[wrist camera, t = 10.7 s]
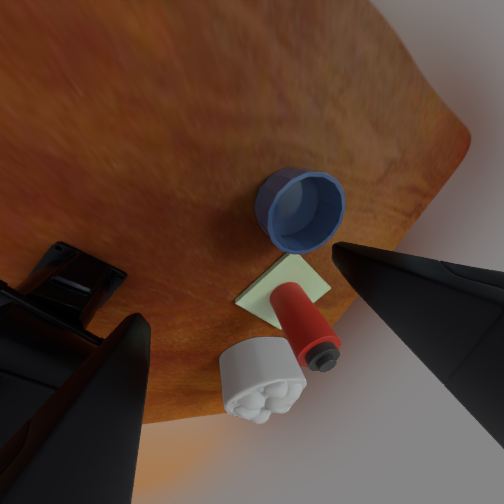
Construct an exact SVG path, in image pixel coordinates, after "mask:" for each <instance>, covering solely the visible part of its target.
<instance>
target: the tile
mask: <svg viewBox="0 0 504 504" xmlns="http://www.w3.org/2000/svg"><path fill="white" fill-rule="evenodd" d="M286 282H295V283H298V284H299V285H300V286H301V287H302V289H303V290H304V291H305V293H306V294H307V295H308V297H309V298H310V299H311V301H312V302H313V303H314V302H315V301H316V300H318V299H319V298H320V297H321V296H322V295H324V294H325V293H326V292H327V291H329V290H330V289H331V287H330V286H329V285H328V284H327V283H326V282H325V281H324V280H323V279H322V278H321V277H320V276H319V275H318V274H317V273H316V272H315V271H314V270H313V269H312V268H311V267H310V266H309V264H308V263H307V262H306V261H305V260H304V259H303V258H302V257H301V256H300V255H299V254H296V255H293V254H290V253H285V254H284V255H283V256H282V257H281V258H280V259H279V260H278V261H276V262H275V263H274V264H273V265H272V266H271V267H270V268H269V269H268V270H267V271H266V272H264V273H263V274H262V275H261V276H260V277H259V278H258V279H257V280H256V281H255V282H253V283H252V284H251V285H250V286H249V287H248V288H247V289H246V290H245V291H244V292H242V293H241V294H240V295H239V296H238V297H237V298H236V299H235V304H237V305H239V306H240V307H242V308H244V309H246V310H247V311H249V312H251V313H253V314H254V315H256V316H258V317H260V318H261V319H263V320H265V321H266V322H268V323H270V324H272V325H273V326H275V327H277V328H279V329H280V330H281V329H282V327H281V325H280V323H279V321H278V319H277V316H276V314H275V312H274V310H273V308H272V306H271V304H270V295H271V293H272V292H273V290H274V289H275V288H276V287H278V286H279V285H281V284H283V283H286Z"/></svg>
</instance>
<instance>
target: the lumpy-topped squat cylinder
mask: <svg viewBox="0 0 504 504" xmlns="http://www.w3.org/2000/svg"><path fill="white" fill-rule="evenodd" d="M219 364H220V373H221V383H222V393H223V402H224V408H225V410H226V412H228V413H229V414H231V415H233V416H238V417H241V418H242V419H245V420H251V421H252V422H254V423H256V424H262V423H264V422H266V421H267V420H268V418H269V416H270V413H273V412H275V413H285V412H287V411H288V410H289V409H290V408H291V406H292V404H293V403H294V402H295V401H296V400H297V399H298V398H299V396H300V394H301V391H302V390H303V389H304V388H305V386H306V384H307V382H306V379H305V377H304V375H303V373H302V371H301V368H300V366H299V364H298V362H297V360H296V357H295V355H294V353H293V351H292V349H291V347H290V345H289V342H288V341H287V340H286V339H285V338H280V337H256V338H251V339H247V340H245V341H242V342H239V343H237V344H235V345H233V346H231V347H230V348H228V349H227V350H225V351H224V352H223V353H222V354H221V356H220V358H219Z"/></svg>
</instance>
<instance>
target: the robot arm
mask: <svg viewBox="0 0 504 504" xmlns="http://www.w3.org/2000/svg"><path fill="white" fill-rule="evenodd" d="M58 246H60V247H62V248H63V249H61V248H59V247H58ZM332 261H333V263H334V264H335V266H336V267H337V268H338V270H339V271H340V272H341V273H342V275H343V276H344V277H345V279H346V280H347V281H348V283H349V284H350V285H351V286H352V288H353V289H354V290H355V291H356V292H357V293H358V294H359V295H360V296H361V297H362V298H363V300H364V301H366V303H367V304H368V305H369V306H370V307H371V308H372V309H373V310H374V311H375V312H376V313H377V314H378V315H379V317H380V318H381V319H382V320H384V322H385V323H386V324H387V325H388V326H389V327H390V328H391V329H392V330H393V331H394V332H395V334H397V336H398V337H399V338H400V339H401V340H402V341H403V342H404V343H405V344H406V345H407V346H408V347H409V348H410V349H411V350H412V352H413V353H414V354H415V355H416V356H417V357H418V358H419V359H420V360H421V361H422V362H423V363H424V364H425V365H426V367H428V369H429V370H430V371H431V372H432V373H433V374H434V375H435V376H436V377H437V378H438V379H439V380H440V381H441V382H442V383H443V384H444V386H445V387H446V388H447V389H448V390H449V391H450V392H451V393H452V394H453V395H454V397H455V398H457V400H458V401H459V402H460V403H461V404H462V405H463V406H464V407H465V408H466V409H467V410H468V411H469V412H470V414H471V415H472V416H473V417H474V418H475V419H476V420H477V421H478V422H479V423H480V424H481V425H482V426H483V427H484V428H485V429H486V431H488V433H489V434H490V435H491V436H492V437H493V438H494V439H495V440H496V441H497V442H498V443H499V444H500V445H501V446H502V447H503V449H504V272H501V271H495V270H489V269H482V268H476V267H471V266H465V265H460V264H454V263H449V262H444V261H438V260H434V259H428V258H424V257H418V256H413V255H408V254H403V253H398V252H393V251H388V250H383V249H378V248H373V247H368V246H363V245H358V244H352V243H347V242H338V243H335V244H333V246H332ZM119 275H121V276H123V277H120V276H119ZM126 277H127V274H126V273H125V272H124V271H121V270H119V269H117V268H115V267H113V266H111V265H109V264H107V263H105V262H103V261H101V260H99V259H97V258H95V257H93V256H91V255H89V254H87V253H85V252H82V251H80V250H78V249H76V248H74V247H72V246H70V245H68V244H66V243H64V242H57V243H55V244H54V245H52V247H51V248H50V249H49V251H48V252H47V253H46V255H45V256H44V257H43V259H42V260H41V261H40V263H39V264H38V265H37V267H36V268H35V269H34V271H33V272H32V273H31V275H30V276H29V277H28V279H27V280H25V281H24V282H23V283H21V284H20V285H19V286H18V287H16V288H15V289H13V288H11V287H9V286H7V285H8V284H7V283H6V282H4V281H2V280H0V504H131V500H132V492H133V486H134V478H135V470H136V463H137V456H138V449H139V441H140V434H141V426H142V419H143V411H144V404H145V397H146V389H147V382H148V374H149V366H150V339H151V327H150V325H149V323H148V322H147V321H146V319H145V318H144V317H143V316H142V315H141V314H140V313H134V314H131V315H129V316H127V317H126V318H125V319H124V320H123V321H122V322H121V323H120V324H119V325H118V326H117V327H116V328H115V329H114V330H113V332H112V333H111V334H110V335H109V336H108V337H107V338H106V339H104V338H99V337H98V336H96V335H94V334H92V333H90V332H89V331H87V330H86V328H87V327H88V325H89V323H90V322H91V320H92V318H93V317H94V315H95V313H96V312H97V310H98V309H99V308H100V307H101V306H102V305H103V304H104V303H105V302H106V300H107V299H108V298H109V297H110V296H111V295H112V294H113V293H114V292H115V290H116V289H117V288H118V287H119V286H120V285H121V284H122V283H123V282H124V280H125V279H126Z"/></svg>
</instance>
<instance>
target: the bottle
mask: <svg viewBox="0 0 504 504" xmlns="http://www.w3.org/2000/svg"><path fill="white" fill-rule="evenodd" d="M270 304H271V306H272V308H273V310H274V312H275V314H276V316H277V319H278V321H279V323H280V325H281V327H282V329H283V331H284V334H285V336H286V338H287V340H288V342H289V344H290V347H291V349H292V351H293V353H294V355H295V357H296V359H297V362H298V363H299V364H300V365H301V366H304V367H309V369H310V370H313V371H318V370H319V371H320V372H326V371H328V370H331V369H332V368H333V367H334V366H335V365H336V363H337V362H336V360H337V359H338V358H339V356H340V352H339V348H340V346H341V341H340V339H339V338H338V336H337V335H336V333H335V332H334V331H333V329H332V328H331V326H330V325H329V324H328V322H327V321H326V320H325V318H324V317H323V316H322V314H321V313H320V312H319V310H318V309H317V308H316V306H315V305H314V304H313V302H312V301H311V299H310V298H309V297H308V295H307V294H306V293H305V291H304V290H303V289H302V287H301V286H300V285H299V284H298V283H295V282H286V283H283V284H281V285H279V286H278V287H276V288H275V289H274V290H273V292H272V293H271V295H270Z"/></svg>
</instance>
